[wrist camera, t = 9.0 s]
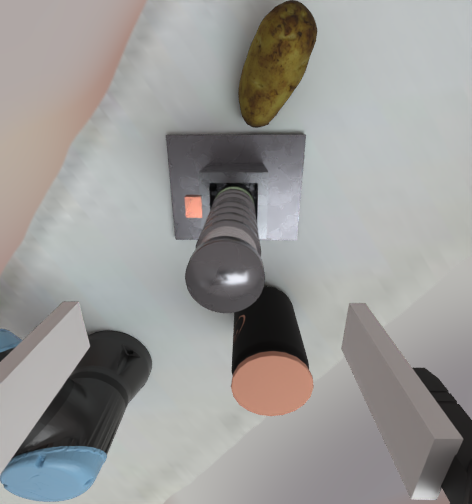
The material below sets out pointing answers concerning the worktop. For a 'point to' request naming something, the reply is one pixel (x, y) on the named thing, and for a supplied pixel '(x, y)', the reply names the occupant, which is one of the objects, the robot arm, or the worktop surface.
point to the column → (227, 254)
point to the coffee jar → (269, 357)
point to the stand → (237, 179)
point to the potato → (276, 61)
